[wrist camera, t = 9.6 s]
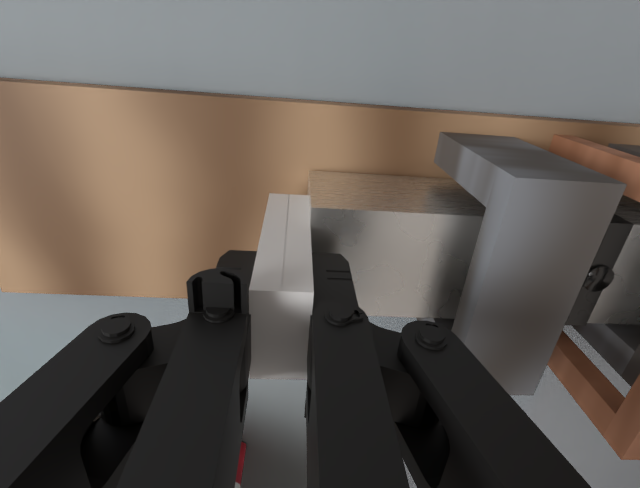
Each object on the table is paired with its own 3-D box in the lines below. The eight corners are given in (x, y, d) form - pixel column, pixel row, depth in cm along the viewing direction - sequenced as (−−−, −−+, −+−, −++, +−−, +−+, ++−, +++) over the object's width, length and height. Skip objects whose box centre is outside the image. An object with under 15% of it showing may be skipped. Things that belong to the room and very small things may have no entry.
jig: (16, 280, 18) (-212, 466, 10) (-51, 73, 14) (-514, 109, 6) (647, 303, 21) (874, 471, 13) (741, 131, 17) (1165, 212, 9)
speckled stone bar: (303, 259, 17) (303, 318, 14) (309, 169, 15) (311, 208, 12) (641, 273, 18) (727, 332, 15) (683, 191, 17) (795, 233, 13)
